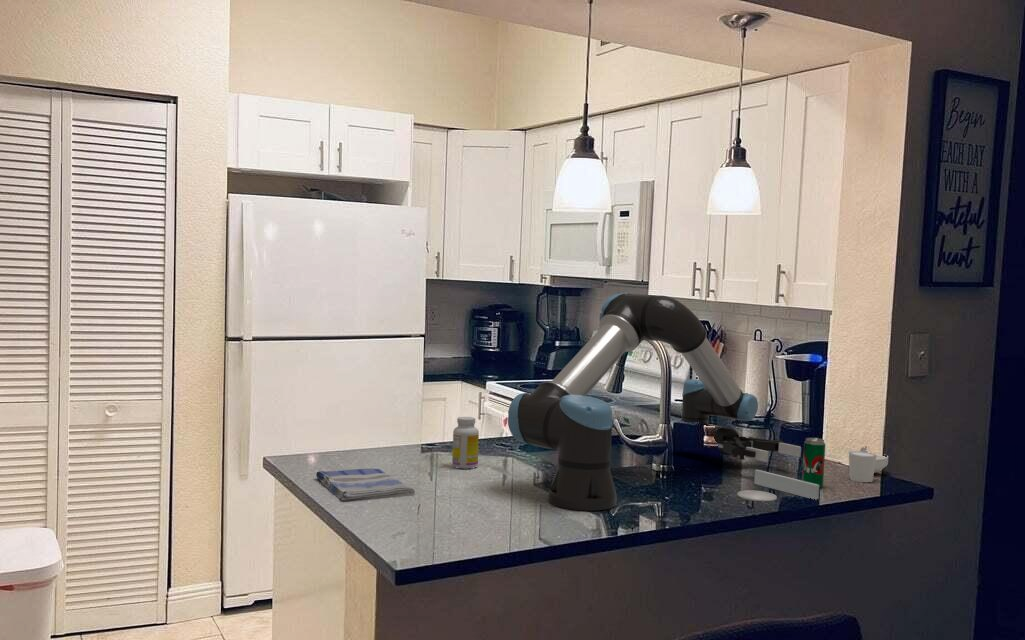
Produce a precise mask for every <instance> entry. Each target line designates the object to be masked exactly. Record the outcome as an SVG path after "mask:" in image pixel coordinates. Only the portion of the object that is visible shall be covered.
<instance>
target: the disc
mask: <svg viewBox="0 0 1025 640" xmlns="http://www.w3.org/2000/svg"><path fill="white" fill-rule="evenodd" d="M737 497H739V498H741V499H744V500H749V501H754V502H765V503H766V502H773V501H774V502H775V501H777V500H778V499H777V497H778V496H777V495H776V494H774V493H772V492H768V491H764V490H753V489H747V490H746V489H745V490H740V491H738V492H737Z"/></svg>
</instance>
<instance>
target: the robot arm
mask: <svg viewBox="0 0 1025 640" xmlns="http://www.w3.org/2000/svg"><path fill="white" fill-rule="evenodd" d="M600 310H601V312H600V313H599V325H598V326H599V329H598V330H597V332H595V334H594V335H593V336H592V337H591V338H590V339H589V340H588V341H587V342H586V344H585V345H584V346H583V347H582V348H581V349H580V350H579V351H578V352H577V353H576V354H575V356H573V358H572V359H571V360H570V361H569V362H568V363H567V364H566V365H565V366H564V367H563V368H562V369H561V371H560V372H559V373H558V374H556V376H555V377H554V378H553V379H552V381H548V380H547V381H543V382H541V383H540V384H539V385H538V386H537V387H536V388H535V389H534V390H533V392H531V393H528V392H524V393H523V392H522V393H519V394H517V395H516V396H515V397H514V398H513V399H512V401H511V402H510V405H509V407H508V410H507V414H508V415H507V426H508V429H509V432H510V434H511V436H512V437H513V438H514V439H515V440H516V441H518V442H520V443H524V444H526V445H528V446H534V447H539V448H544V449H548V450H549V449H550V450H555V451H558V456H557V457H558V458H557V459H558V460H557V468H556V471H555V474H554V476H553V480H552V482H551V484H550V487H549V491H548V502H549V503H550V504H552V505H554V506H556V507H559V508H563V509H567V510H575V511H593V512H594V511H604V510H608V509H612V508H614V507H616V506H617V499H618V498H617V496H618V495H617V490H616V487H615V483H614V480H613V476H612V472H611V453H612V452H611V451H612V435H613V434H612V433H613V432H612V431H613V424H614V421H613V412H612V411H613V410H612V406H611V405H610V404H609V403H608V402H607V401H605V400H602V399H601V398H596V397H592V396H588V394H590V393H591V391H592V390H593V389H594V388H595V387H596V385H597V384H598V383H599V382H600V381H601V379H603V377H604V376H605V375H606V374H607V373H608V371H609V370H611V368H612V367H614V365H615V364H616V362H617V361H618V360H619V359H620V358H621V357H622V356H623V354H624V353H625V352H626V353H627V352H632V351H634V350H636V349H637V347H639V345H640V344H641V343H642V342H643V341H655V342H662V343H666V344H668V345H670V346H671V347H672V349H673V350H674V351H675V352H676V353H678V354H681V355H682V357H683V358H684V359H685V360H686V362H687V363H688V364H689V366H690V367H691V369H692V370H693V372H694V373H695V374H696V376H697V378H698V379H694V378H693V379H687V380H685V381H684V382H683V389H682V394H681V396H682V398H681V399H682V404H681V418H678V419H677V420H676V421H684V422H699V423H704V425H706V426H715V428H716V433H715V435H714V439H715V441H716V442H717V443H718V450H720V451H722V454H721V455H723V456H726V457H727V456H729V457H730V456H731V457H734V458H738V457H739V460H741V461H743V460H745V459H746V458H747V459H752V460H755V461H760V462H762V463H763V462H764V463H768V462H769V452H778V453H779V454H783V455H787V456H791V457H796V458H801V457H802V456H801V455H802V447H801V446H799V445H795V444H790V443H785V441H783V439H781V438H780V439H779V440H775V439H767V438H757V437H753V436H748V437H746V436H741V435H739V434H738V431H737V430H736V429H733V428H731V427H730V428H729V427H725V426H722V425H721V426H720V425H717V424H710V423H708V422H709V416H714V417H719V418H724V419H731V420H735V421H744V422H745V421H747V422H749V421H752V420H754V418H755V417H756V415H757V413H758V410H759V402H758V401H759V400H758V398H757V397H756V396H755V395H754V394H752V393H748V392H743V390H742V389H741V388H740V386H739V384H738V383H737V382H736V380H735V379H734V378H733V375H732V374H731V373H730V370H728V368H727V367H726V365H725V364H724V362H723V361H722V358H720V356H719V354H718V353H717V352H716V349H714V347H713V345H712V344H711V342H710V341H709V340H708V338H707V329H706V328H705V326H704V325H703V323H702V321H701V320H700V319H699V317H697V315H696V314H695V313H694V312H693V311H692V310H690V308H688V307H687V306H686V305H685V304H684V303H682V302H680V301H679V300H677V299H675V298H674V297H669V296H667V295H654V294H639V293H630V292H626V293H617V294H614V295H613V294H612V295H611V296H610V297H609V298H607V299H606V300H605V302H604V303H603V305H602V307H601V309H600Z"/></svg>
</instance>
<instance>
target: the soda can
mask: <svg viewBox="0 0 1025 640" xmlns="http://www.w3.org/2000/svg"><path fill="white" fill-rule="evenodd" d="M825 443H826V442H825V440H824V438H823V439H822V438H819V437H806V438H805V441H804V442H803V454H802V457H803V460H802V476H801V477H802V478H801V481H805V482H809V483H814V484H818V485H819V489H821V488H823V486H824V479H825V475H824V474H825V460H826V444H825Z"/></svg>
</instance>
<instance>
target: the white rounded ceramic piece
mask: <svg viewBox="0 0 1025 640" xmlns="http://www.w3.org/2000/svg"><path fill="white" fill-rule="evenodd" d="M864 447H865V448H864ZM866 448H867V446H863V447H861V449H860V451H856V450H849V451H848V453H847V454H849V452H867V453H868V451H866V450H867V449H866ZM888 464H889V455H887V457H885V456H876V463H875V469H874V474H878V473H879V472H881V471H882V469H884V468H885V467H887V466H888Z"/></svg>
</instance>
